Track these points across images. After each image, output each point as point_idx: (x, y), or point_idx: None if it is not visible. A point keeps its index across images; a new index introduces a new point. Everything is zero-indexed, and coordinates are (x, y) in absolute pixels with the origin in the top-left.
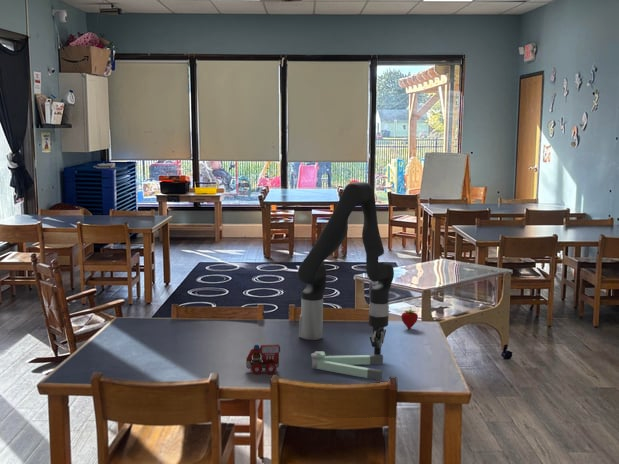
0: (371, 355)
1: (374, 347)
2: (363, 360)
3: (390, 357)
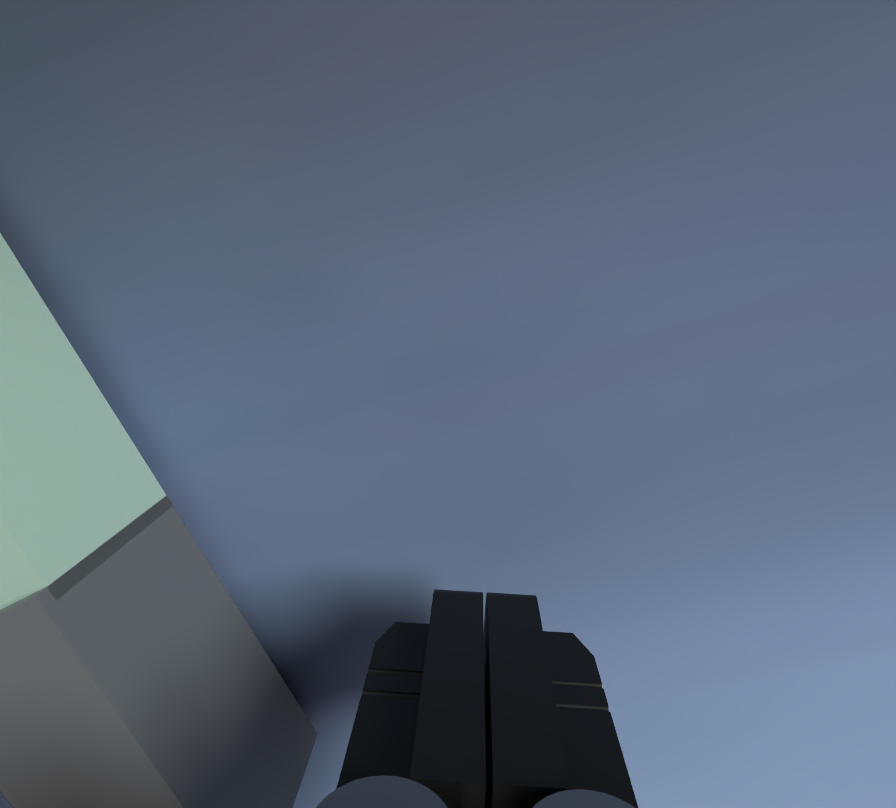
0: (4, 678)
1: (415, 768)
2: None
3: (736, 803)
